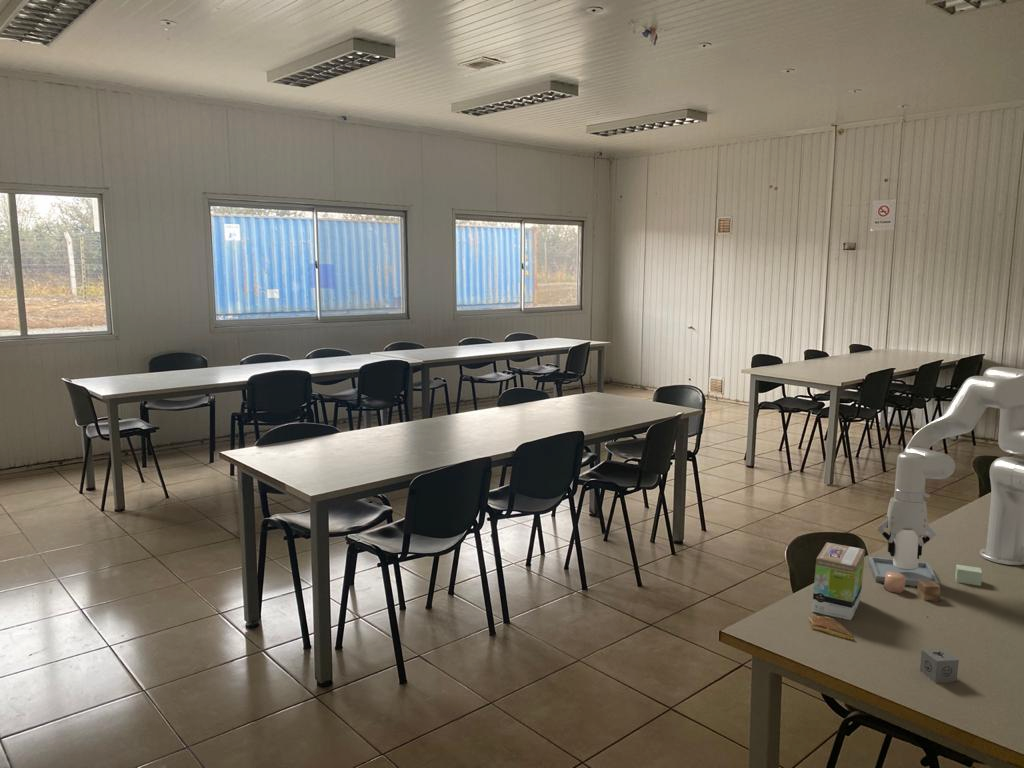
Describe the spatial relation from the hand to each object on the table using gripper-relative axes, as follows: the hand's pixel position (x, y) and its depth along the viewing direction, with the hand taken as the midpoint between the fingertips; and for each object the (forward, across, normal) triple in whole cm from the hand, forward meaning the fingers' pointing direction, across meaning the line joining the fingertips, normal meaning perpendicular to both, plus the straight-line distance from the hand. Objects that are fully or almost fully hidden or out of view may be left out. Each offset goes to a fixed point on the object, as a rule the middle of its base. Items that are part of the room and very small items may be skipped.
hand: (904, 555), depth 221 cm
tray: (+6, 0, 0) cm, 6 cm away
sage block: (+6, -17, -1) cm, 18 cm away
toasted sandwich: (+7, +22, +43) cm, 49 cm away
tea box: (+6, +20, +29) cm, 36 cm away
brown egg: (+6, +4, +12) cm, 14 cm away
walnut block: (+6, -4, +15) cm, 17 cm away
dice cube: (+6, +2, +60) cm, 61 cm away
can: (+3, -1, 0) cm, 4 cm away
